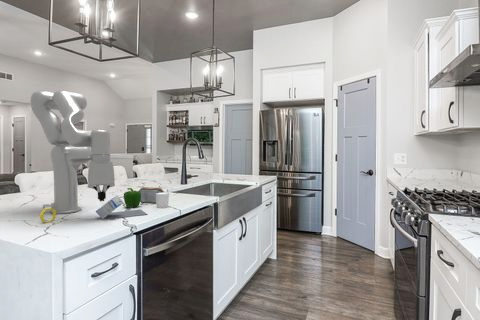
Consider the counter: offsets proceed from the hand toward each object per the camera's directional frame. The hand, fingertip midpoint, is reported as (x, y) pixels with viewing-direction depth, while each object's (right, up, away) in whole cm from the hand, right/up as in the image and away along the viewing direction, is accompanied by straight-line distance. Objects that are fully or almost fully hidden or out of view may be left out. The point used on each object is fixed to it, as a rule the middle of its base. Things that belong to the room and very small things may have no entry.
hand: (101, 200), depth 126 cm
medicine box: (0, -6, 0) cm, 6 cm away
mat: (+8, -7, +6) cm, 12 cm away
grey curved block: (+11, -6, +34) cm, 36 cm away
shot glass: (+20, -7, +23) cm, 31 cm away
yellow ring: (-18, -8, -8) cm, 21 cm away
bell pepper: (+5, -7, +23) cm, 24 cm away
